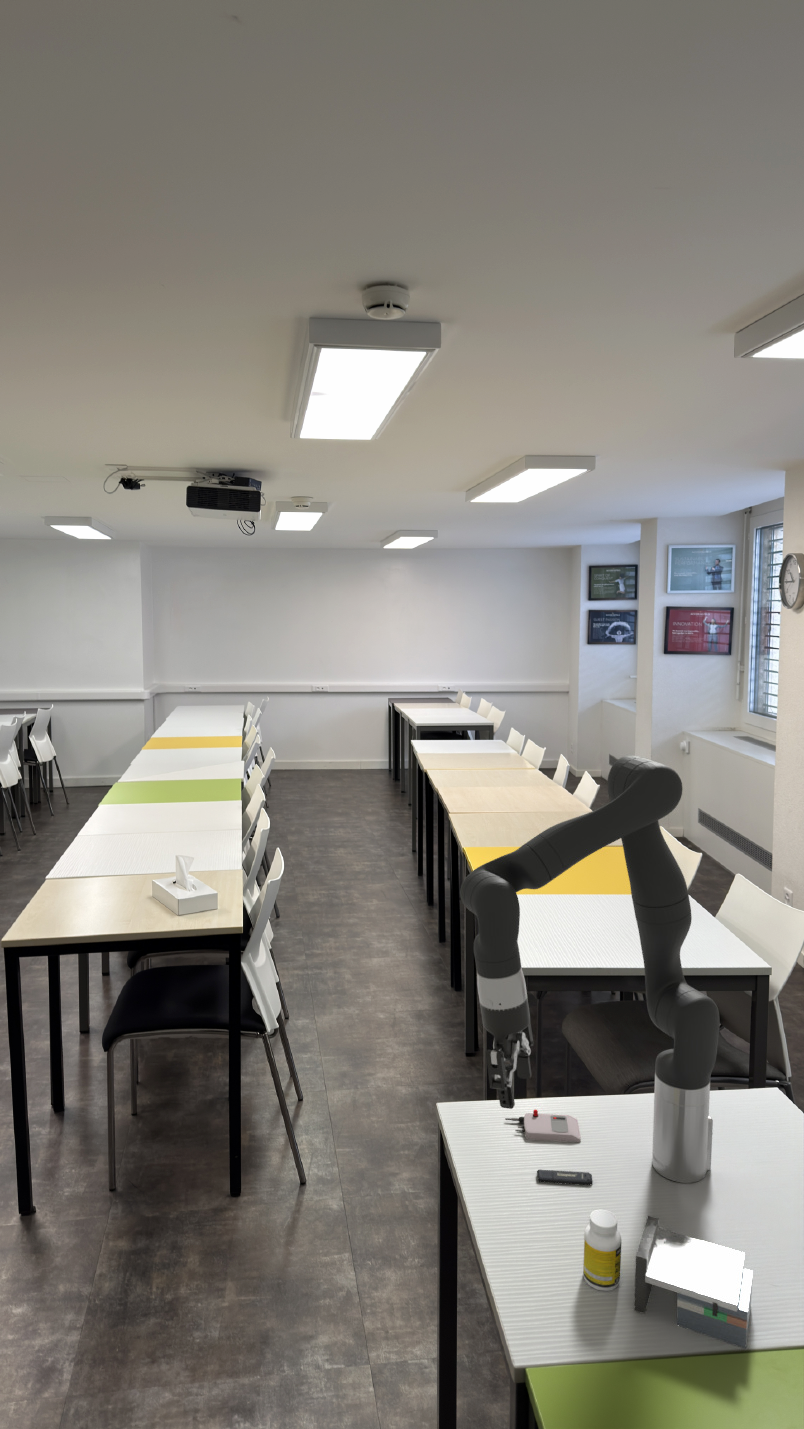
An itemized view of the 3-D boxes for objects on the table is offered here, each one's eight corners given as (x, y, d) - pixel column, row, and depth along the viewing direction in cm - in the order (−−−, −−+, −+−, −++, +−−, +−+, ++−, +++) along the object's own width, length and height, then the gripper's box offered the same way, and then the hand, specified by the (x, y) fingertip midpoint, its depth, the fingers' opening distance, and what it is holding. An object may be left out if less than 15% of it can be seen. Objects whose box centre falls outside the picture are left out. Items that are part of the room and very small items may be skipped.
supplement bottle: (621, 1295, 129) (622, 1233, 128) (582, 1289, 130) (584, 1228, 129) (619, 1267, 134) (621, 1208, 133) (583, 1262, 135) (584, 1203, 134)
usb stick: (537, 1184, 154) (537, 1176, 154) (536, 1175, 156) (536, 1166, 156) (592, 1188, 153) (592, 1180, 153) (591, 1178, 155) (591, 1170, 155)
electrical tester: (590, 1144, 165) (591, 1129, 164) (505, 1140, 166) (505, 1125, 166) (586, 1123, 171) (587, 1109, 171) (505, 1119, 173) (505, 1105, 173)
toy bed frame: (633, 1313, 125) (634, 1258, 124) (647, 1263, 134) (649, 1212, 133) (735, 1348, 119) (737, 1291, 118) (742, 1294, 128) (745, 1240, 127)
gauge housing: (676, 1326, 123) (677, 1290, 123) (685, 1285, 131) (686, 1251, 130) (745, 1349, 120) (747, 1312, 119) (750, 1306, 127) (752, 1271, 126)
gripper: (510, 1020, 132) (525, 1121, 134) (539, 977, 144) (552, 1070, 146) (464, 1016, 135) (478, 1114, 137) (496, 975, 148) (509, 1065, 150)
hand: (516, 1091), depth 142 cm, fingers open, 8 cm apart
